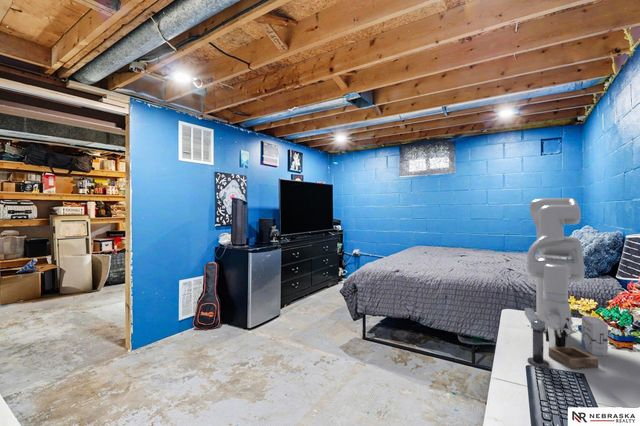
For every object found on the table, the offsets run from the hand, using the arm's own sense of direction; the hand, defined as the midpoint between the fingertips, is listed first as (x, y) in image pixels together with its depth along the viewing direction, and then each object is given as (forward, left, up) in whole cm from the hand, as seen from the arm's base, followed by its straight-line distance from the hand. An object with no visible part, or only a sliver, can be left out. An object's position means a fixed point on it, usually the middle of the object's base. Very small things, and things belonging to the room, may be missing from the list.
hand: (555, 343), depth 117 cm
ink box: (-13, +3, -2) cm, 14 cm away
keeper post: (+16, +10, -2) cm, 19 cm away
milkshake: (0, 0, -2) cm, 2 cm away
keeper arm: (+13, +4, +10) cm, 17 cm away
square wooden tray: (+3, +10, -2) cm, 11 cm away
